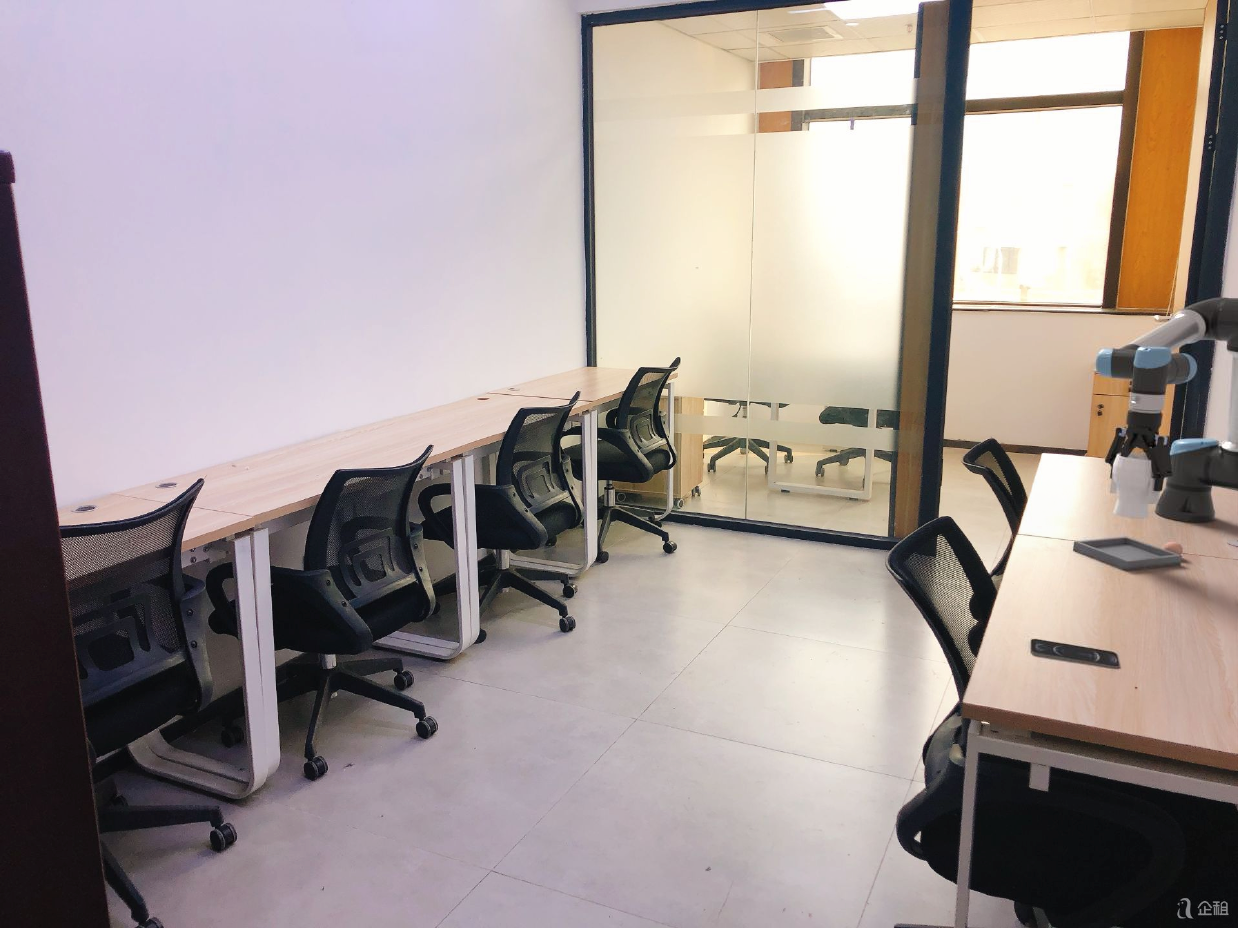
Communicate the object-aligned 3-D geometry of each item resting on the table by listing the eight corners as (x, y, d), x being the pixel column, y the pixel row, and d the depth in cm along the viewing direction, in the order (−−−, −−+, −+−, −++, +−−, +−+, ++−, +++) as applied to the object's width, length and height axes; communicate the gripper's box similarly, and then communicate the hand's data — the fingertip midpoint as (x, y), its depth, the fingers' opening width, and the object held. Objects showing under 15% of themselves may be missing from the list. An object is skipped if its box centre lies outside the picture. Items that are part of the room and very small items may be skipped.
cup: (1161, 522, 225) (1170, 461, 222) (1114, 519, 227) (1122, 459, 224) (1146, 511, 235) (1154, 453, 232) (1101, 508, 237) (1109, 451, 234)
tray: (1124, 545, 244) (1125, 536, 244) (1180, 564, 228) (1182, 555, 228) (1073, 550, 239) (1074, 541, 239) (1126, 570, 223) (1127, 561, 223)
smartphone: (1120, 667, 168) (1030, 652, 174) (1119, 671, 169) (1030, 656, 174) (1116, 651, 175) (1030, 637, 181) (1116, 656, 175) (1030, 641, 181)
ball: (1171, 553, 237) (1173, 539, 236) (1185, 558, 233) (1187, 543, 232) (1159, 555, 236) (1161, 540, 235) (1173, 560, 232) (1175, 544, 231)
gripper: (1096, 404, 235) (1085, 488, 240) (1174, 418, 214) (1161, 510, 218) (1119, 403, 238) (1108, 486, 242) (1199, 417, 216) (1185, 508, 221)
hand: (1133, 498), depth 230 cm, fingers closed on cup, 11 cm apart
